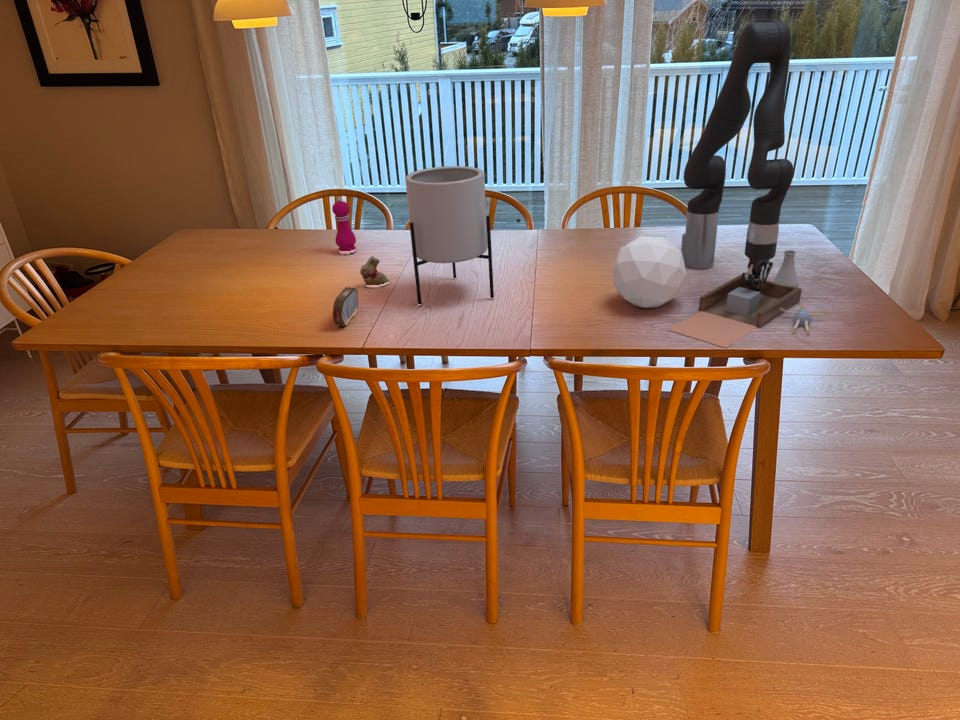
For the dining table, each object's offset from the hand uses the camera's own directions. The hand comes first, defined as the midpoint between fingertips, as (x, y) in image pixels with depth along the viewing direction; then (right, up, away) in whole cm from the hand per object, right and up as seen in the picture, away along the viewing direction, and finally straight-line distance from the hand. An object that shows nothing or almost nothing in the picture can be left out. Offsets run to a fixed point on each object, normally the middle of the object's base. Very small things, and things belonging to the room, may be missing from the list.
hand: (753, 300), depth 187 cm
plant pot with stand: (-81, +3, +20) cm, 83 cm away
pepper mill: (-122, +22, +62) cm, 138 cm away
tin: (-111, -5, +7) cm, 111 cm away
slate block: (-4, -3, -3) cm, 6 cm away
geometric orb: (-28, -1, +5) cm, 28 cm away
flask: (+14, +5, +12) cm, 19 cm away
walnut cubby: (-2, -2, -1) cm, 3 cm away
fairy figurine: (+7, -8, -12) cm, 16 cm away
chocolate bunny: (-107, +7, +30) cm, 111 cm away
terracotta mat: (-15, -8, -11) cm, 21 cm away
